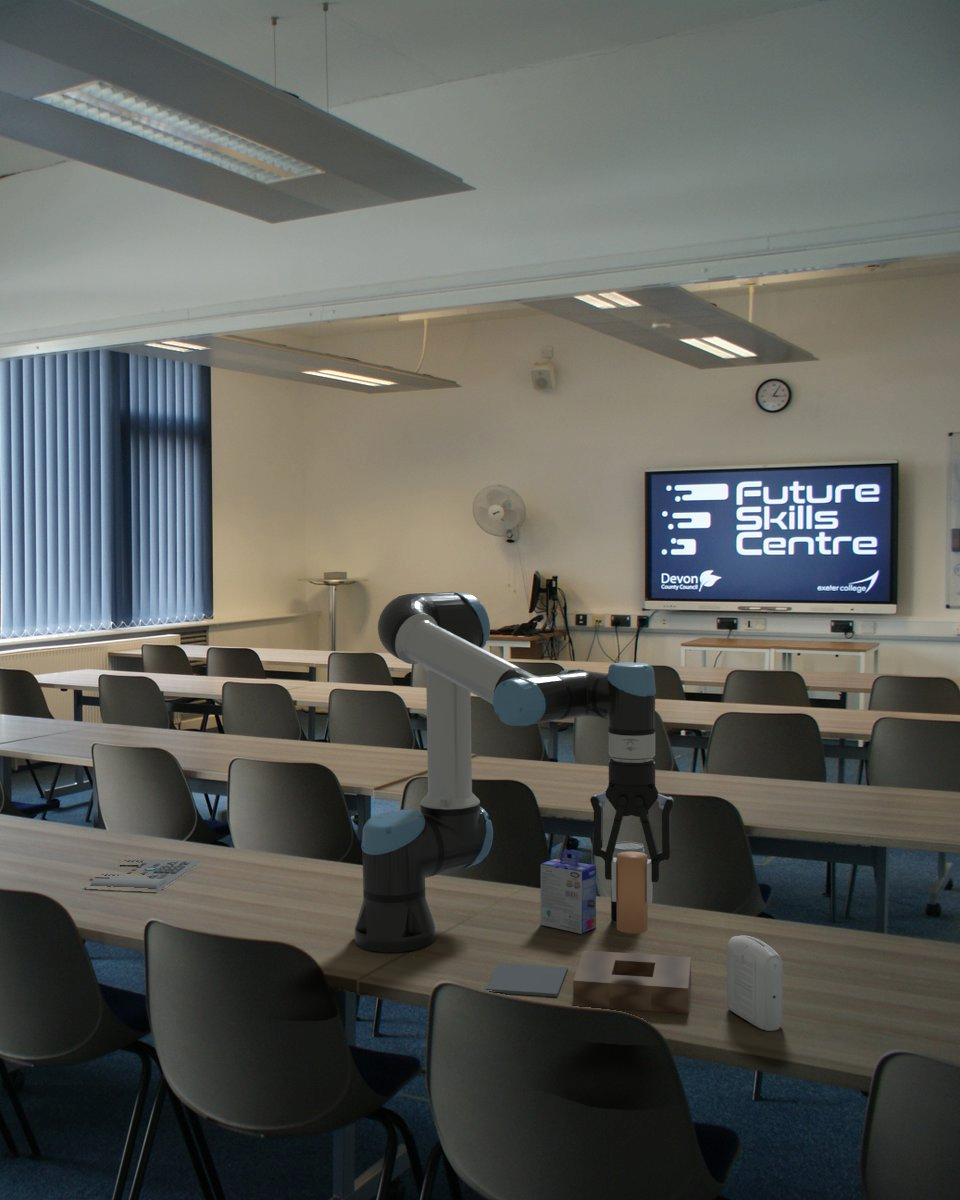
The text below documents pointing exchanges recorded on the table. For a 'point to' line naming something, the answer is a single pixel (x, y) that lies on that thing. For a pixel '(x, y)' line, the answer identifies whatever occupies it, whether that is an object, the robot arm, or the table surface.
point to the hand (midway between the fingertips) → (632, 899)
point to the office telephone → (149, 874)
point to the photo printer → (755, 982)
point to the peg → (632, 892)
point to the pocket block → (633, 981)
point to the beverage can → (618, 849)
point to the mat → (527, 979)
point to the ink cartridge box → (568, 894)
